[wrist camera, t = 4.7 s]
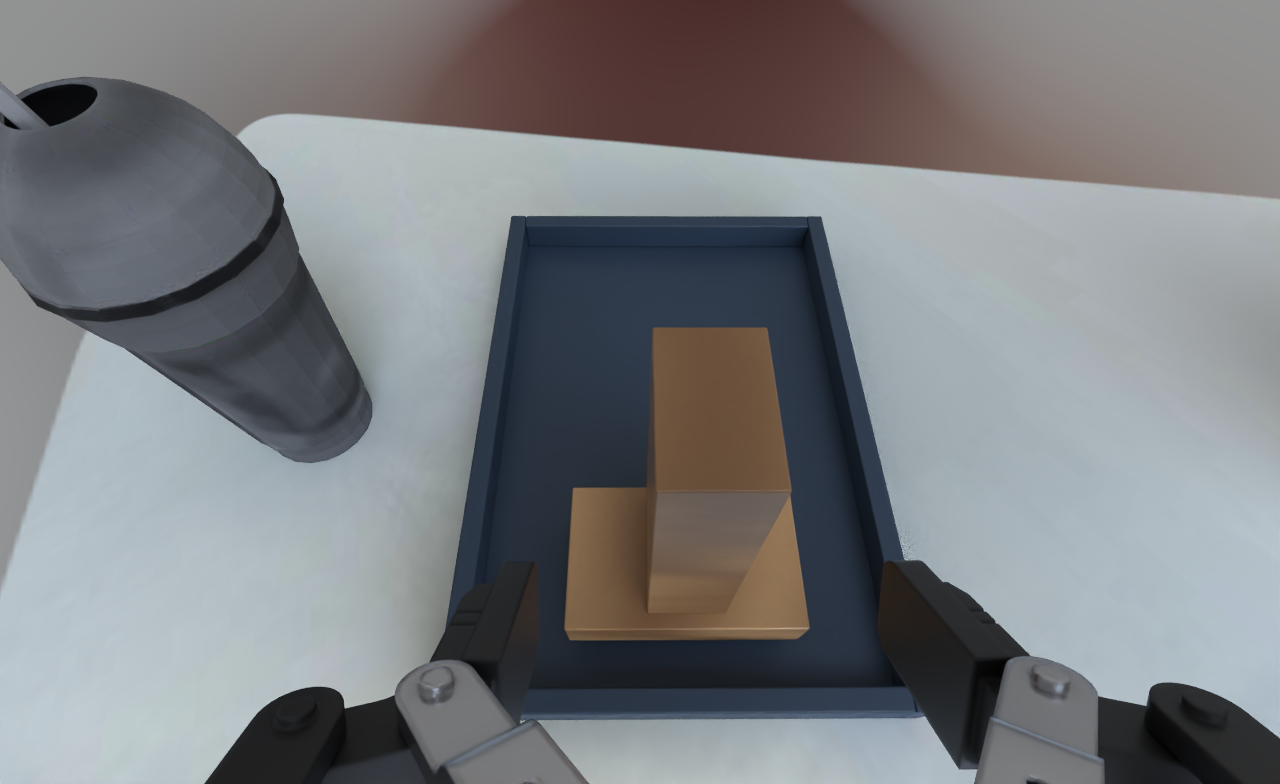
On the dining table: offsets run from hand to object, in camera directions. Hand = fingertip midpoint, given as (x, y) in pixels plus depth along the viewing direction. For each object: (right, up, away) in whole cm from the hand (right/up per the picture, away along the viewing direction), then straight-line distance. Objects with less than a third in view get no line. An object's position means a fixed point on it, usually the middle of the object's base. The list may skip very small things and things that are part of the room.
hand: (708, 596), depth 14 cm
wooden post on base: (0, -3, +10) cm, 10 cm away
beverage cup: (-16, +3, +14) cm, 22 cm away
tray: (0, +3, +14) cm, 14 cm away
